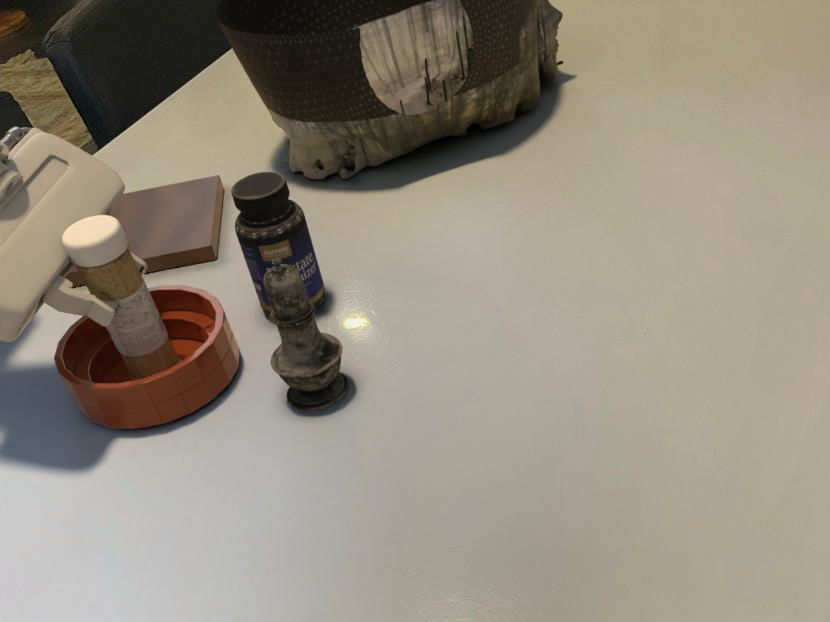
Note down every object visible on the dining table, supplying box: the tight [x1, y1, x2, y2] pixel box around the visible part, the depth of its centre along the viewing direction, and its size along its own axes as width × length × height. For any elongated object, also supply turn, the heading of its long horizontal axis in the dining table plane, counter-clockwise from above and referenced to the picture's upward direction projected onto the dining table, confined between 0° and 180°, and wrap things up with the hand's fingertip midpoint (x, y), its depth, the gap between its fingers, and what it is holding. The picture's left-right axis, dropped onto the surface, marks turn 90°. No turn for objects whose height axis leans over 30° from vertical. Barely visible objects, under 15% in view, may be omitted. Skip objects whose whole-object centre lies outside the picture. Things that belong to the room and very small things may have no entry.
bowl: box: [53, 284, 240, 430], centre depth 82 cm, size 14×14×4 cm
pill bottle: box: [230, 171, 327, 317], centre depth 84 cm, size 6×6×11 cm
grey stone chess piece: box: [263, 257, 350, 412], centre depth 75 cm, size 6×6×12 cm
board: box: [64, 174, 225, 288], centre depth 100 cm, size 16×15×2 cm
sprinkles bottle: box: [62, 215, 181, 381], centre depth 78 cm, size 5×5×13 cm
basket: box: [215, 0, 564, 180], centre depth 102 cm, size 28×35×16 cm
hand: (128, 296), depth 78 cm, fingers closed on sprinkles bottle, 4 cm apart
